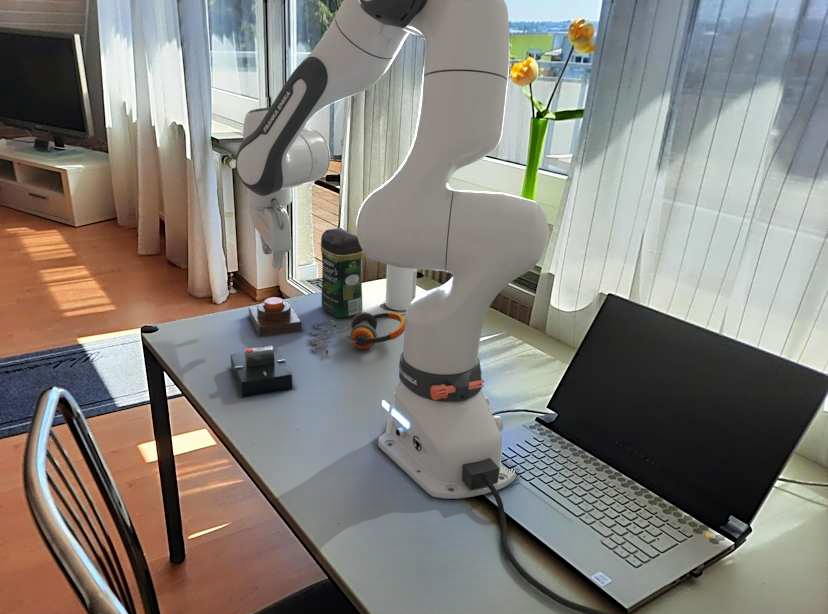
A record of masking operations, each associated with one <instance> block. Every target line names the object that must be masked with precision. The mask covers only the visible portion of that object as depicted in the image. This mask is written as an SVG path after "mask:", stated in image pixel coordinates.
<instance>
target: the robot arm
mask: <svg viewBox="0 0 828 614" xmlns="http://www.w3.org/2000/svg"><path fill="white" fill-rule="evenodd" d="M409 34H413V35H414V36H415V37H418V38H420V39H424V43H425V44H424V46H425V52H424V61H423V69H422V80H421V92H420V101H419V110H418V117H417V122H416V128H415V132H414V138H413V141H412V144H411V146H410V149H409V151H408V154H407V155H406V157H405V159H404V161H403V162H402V164H401V165H400V167H399V168H398V169H397V171H395V173H394V174H393V176H392V177H391V178H390V179H388V180H387V181H386V182H385V183H384V184H382V185H381V186H380V187H379V188H377V189H375V190H374V191H372V192H371V193H370V194H369V195H368V196H367V197H366V198H365V200H364V201H363V203H362V204H361V207H360V208H359V211H358V214H357V217H356V229H355V230H356V231H355V232H356V235H357V237H358V241H359V244H360V246H361V248H362V250H363V254H365V256H366V257H367V258H368V259H370V260H372V261H375V262H378V263H381V264H385V265H387V264H388V265H392V266H396V267H399V268H411V269H417V270H423V271H424V270H426V271H437V272H446V273H449V274H451V276H452V277H451V278H450V279H449V280H448V281H446V282H444V283H443V284H442V285H440V286H437V287H434V288H431V289H429V290H426V291H424V292H421V294H418V296H415V299H414V300H413V301H412V302H411V303H410V305H409V306H408V308H407V310H405V314H404V315H405V316H404V319H405V331H404V332H403V335H404V336H403V350H402V351H401V353H400V358H399V362H398V370H399V371H398V378H399V382H398V385H397V387H396V388H395V390H394V391H393V393H392V394H391V396H390V399H389V403H388V402H387V401H386V400H385V399H383V400H382V401H381V406H382V407H383V408H384V409H385V410H386V411H387V419H386V420H387V421H386V428H385V432H384V433H383V434H381V435H379V437H378V440H377V441H378V442H377V446H378V448H379V449H380V450H381V451H382V452H383V453H384V454H385V455H387V456H388V457H389V458H390V459H391V460H392V461H393V462H394V463H395V464H396V465H397V466H398V467H399V468H401V470H403V471H404V473H406V474H407V476H409V477H410V478H411V479H412V480H413V481H414V482H415V483H416V484H417V485H418V486H419V487H420V488H422V489H423V490H424V491H425V492H426V493H427V494H428V495H429V496H431V497H433V498H439V499H454V500H456V499H457V500H458V499H466V498H473V497H478V496H482V495H486V494H490V493H491V494H492V495H493V498H494V499H495V502H496V505H497V510H498V511H497V512H498V516H499V523H500V539H501V541H500V542H501V546H502V549H503V551H504V554H505V556H506V557H507V559H508V561H509V562H510V564H511V565H512V567H513V568H514V569H515V571H516V572H517V573H518V574H519V575H520V576H521V577H522V578H523V579H524V580H525V581H526V582H528V583H529V584H530V585H532V586H533V587H534V588H535V589H536V590H538V591H539V592H541V593H542V594H543V595H545V596H547V597H548V598H550V599H551V600H553V601H554V602H555V603H557V604H560V605H562V606H563V607H566V608H569V609H570V610H574V611H577V612H580V613H582V614H609V612H606V611H603V610H600V609H597V608H592V607H589V606H585V605H583V604H580V603H577V602H574V601H571V600H568V599H567V598H564V597H562V596H560V595H559V594H557V593H555V592H554V591H552V589H549V588H547V587H546V586H545V585H543V584H542V583H541V582H539V581H538V580H537V579H535V578H534V577H533V576H532V575H530V574H529V573H528V572H527V571H526V570H525V569H524V567H522V565H521V564H520V563H519V562H518V561H517V559H516V558H515V556H514V555H513V553H512V551H511V549H510V547H509V543H508V529H507V528H508V527H507V518H506V514H505V513H506V512H505V508H504V503H503V500H502V497H501V495H500V493H499V490H501V489H503V488H505V487H507V486H509V485H510V484H511V483H513V482H514V481H515V479H516V478H517V472H516V473H515V470H516V469H515V470H514V471H513V469H511V471H510V469H509V472H508V469H507V470H506V471H505V469H506V467H505V468H504V469H503V467H501V455H502V448H503V439H502V434H501V432H502V431H503V429H504V421H503V418H502V417H501V416H500V415H494V416H493V413H492V411H491V408H490V399H489V396H488V397H487V396H485V395H484V392H483V390H482V388H484V387H485V386H484V384H483V383H485V379H483V378H482V374H483V373H482V367H481V362H480V358H479V350H480V343H481V336H482V332H483V327H484V322H485V318H486V315H487V313H488V310H489V309H490V306H491V304H492V303H493V302H494V300H495V299H496V297H497V296H498V295H499V294H500V293H501V292H502V290H503V289H505V288H506V287H507V286H508V285H509V284H510V283H512V282H513V281H515V280H516V279H517V278H519V277H521V276H524V274H526V273H528V272H530V271H531V270H532V269H534V268H535V267H536V266H537V264H538V263H539V262H540V261H541V259H542V258H543V256H544V254H545V252H546V250H547V247H548V243H549V236H550V229H549V223H548V222H549V221H548V220H547V216H546V213H545V212H544V210H543V209H542V207H541V206H540V204H539V203H538V202H537V201H535V200H531V199H528V198H525V197H521V196H517V195H513V194H509V193H505V192H496V191H495V192H493V191H478V190H477V191H476V190H460V189H455V188H452V187H450V186H449V183H450V180H451V178H452V176H453V175H454V173H456V171H458V170H460V169H462V168H464V167H466V166H469V165H471V164H473V163H476V162H478V161H480V160H482V159H484V158H485V157H487V156H489V155H490V154H492V153H493V152H494V151H495V150H496V148H497V147H498V146H499V144H500V142H501V140H502V137H503V130H504V121H505V120H504V119H505V110H506V104H507V103H506V101H507V93H508V84H509V83H508V82H509V71H510V52H511V51H510V49H511V48H510V42H511V41H510V22H509V11H508V6H507V4H506V2H505V0H342V2H341V4H340V6H339V7H338V10H337V12H336V13H335V15H334V17H333V19H332V22H331V23H330V24H329V26H328V28H327V30H326V32H325V33H324V34H323V35H322V37H321V39H320V40H319V42H318V43H317V44H316V46H314V48H313V49H312V51H311V52H310V53H309V54H308V55H307V56H306V57H305V59H303V60H302V61H301V62H300V63H299V65H298V66H297V67H296V68H295V69H294V71H292V73H291V75H290V76H289V77H288V78H287V80H286V82H285V83H284V85H283V87H282V88H281V90H280V91H279V92H278V94H277V96H276V97H275V99H274V101H273V102H272V104H271V106H269V107H268V106H267V107H261V108H255V109H251V110H249V111H247V113H246V114H245V116H244V120H243V121H244V123H243V132H242V133H243V135H242V142H241V143H240V145H239V147H238V150H237V152H236V156H235V170H236V173H237V176H238V178H239V179H240V182H242V184H243V185H244V186H245V187H244V189H245V194H246V203H247V204H248V205H249V210H250V216H251V221H252V225H253V227H254V228H255V229H256V231H257V233H258V234H259V237H260V242H261V250H262V253H263V254H264V255H271V254H272V258H271V265H272V267H273V269H276V270H279V269H282V268H283V265H284V264H283V259H284V255H285V253H289V252H291V250H292V234H291V223H290V217H289V213H288V212H287V207H286V206H288V205H290V204H291V203H292V202H293V200H292V199H293V195H292V188H295V187H299V186H302V185H307V184H311V183H315V182H316V181H318V180H321V179H323V178H324V177H325V176H326V175H327V173H328V171H329V168H330V165H331V152H330V147H329V145H328V142H327V141H326V139H325V138H324V136H323V135H322V134H321V133H320V132H318V131H316V130H314V129H310V128H307V127H306V126H307V124H308V123H309V121H310V120H311V119H312V118H313V116H315V115H316V114H317V113H318V112H319V111H321V110H323V109H324V108H326V107H328V106H330V105H332V104H334V103H336V102H339V101H341V100H344V99H347V98H349V97H353V96H356V95H358V94H361V93H364V92H366V91H367V90H370V89H371V88H373V86H375V85H376V83H377V82H379V80H380V79H382V78H383V76H384V75H385V73H386V72H387V71H388V70H389V68H390V66H391V65H392V63H393V61H394V60H395V58H396V57H397V55H398V53H399V52H400V50H401V48H402V46H403V44H404V42H405V40H406V39H407V37H408V36H409ZM504 463H507V462H504ZM512 471H513V473H512ZM507 472H508V473H507ZM514 473H515V474H514ZM509 474H510V475H509ZM513 475H514V476H513ZM512 476H513V477H512ZM511 477H512V478H511ZM507 480H508V481H507ZM484 488H485V489H484ZM486 488H487V489H486ZM478 490H479V491H478Z"/></svg>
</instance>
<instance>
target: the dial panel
mask: <svg viewBox="0 0 828 614" xmlns="http://www.w3.org/2000/svg"><path fill="white" fill-rule="evenodd" d="M273 348H274V347H273ZM274 359H275V364H270V365H263V366H257V367H250V368H247V365H246V360H245V352H240V353H233V354H230V367H231V368H230V369H231V371H232V374H233V376H234V379H235V381H236V384H237V386H238V389H239V392H240V395H241V397H242V398H245V397H251V396H257V395H264V394H270V393H276V392H281V391H282V392H283V391H288V390H293V373H292V372H291V370H290V369H289V366H288V364H287V363H286V359H285V358H283V356H282V354H281V352H280V350H279V348H278V347H276V348H274Z"/></svg>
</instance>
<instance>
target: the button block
mask: <svg viewBox="0 0 828 614" xmlns="http://www.w3.org/2000/svg"><path fill="white" fill-rule="evenodd" d="M248 317H249V319H250V321H251V323H252V325H253V326H254V328H255V331H256V332H257V335H258V336H259V337H266V336H274V335H280V334H281V335H282V334H290V333H297V332H302V321H301V319H300V318H299V316H298V315H297V313H296V312H295V310H294V309H293V307H292V306H291V304H290V303H289V302H286V301H284V300H283V309H281V310H278V311H268V310H265V306H264V301H263V302H261V303H259V304H258V305H256V306H249V307H248Z"/></svg>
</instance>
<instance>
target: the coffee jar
mask: <svg viewBox="0 0 828 614" xmlns="http://www.w3.org/2000/svg"><path fill="white" fill-rule="evenodd" d="M320 251H321V262H322V263H321V265H322V266H321V267H322V269H321V270H322V271H321V275H322V276H321V308H322V309H323V310H324V311H325V312H326V313H328V314H329V315H331V316H333V317H335V318H339V319H341V318H343V319H344V318H345V319H346V318H347V319H349V318H354V317H355V316H356V315H357V314H359V313H363V312H362V311H363V287H362V286H363V285H362V284H363V283H362V282H363V280H362V278H363V277H362V265H363V264H362V263H363V262H362V261H363V257H364V251H363V250H362V248H361V246H360V244H359V241H358V237H357V234H355V233H353V232H352V231H351V232H350V231H349V230H346V229H343V228H342V227H336V228H330V229H326V230H324V231H323V233H322V234H321V239H320Z"/></svg>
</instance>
